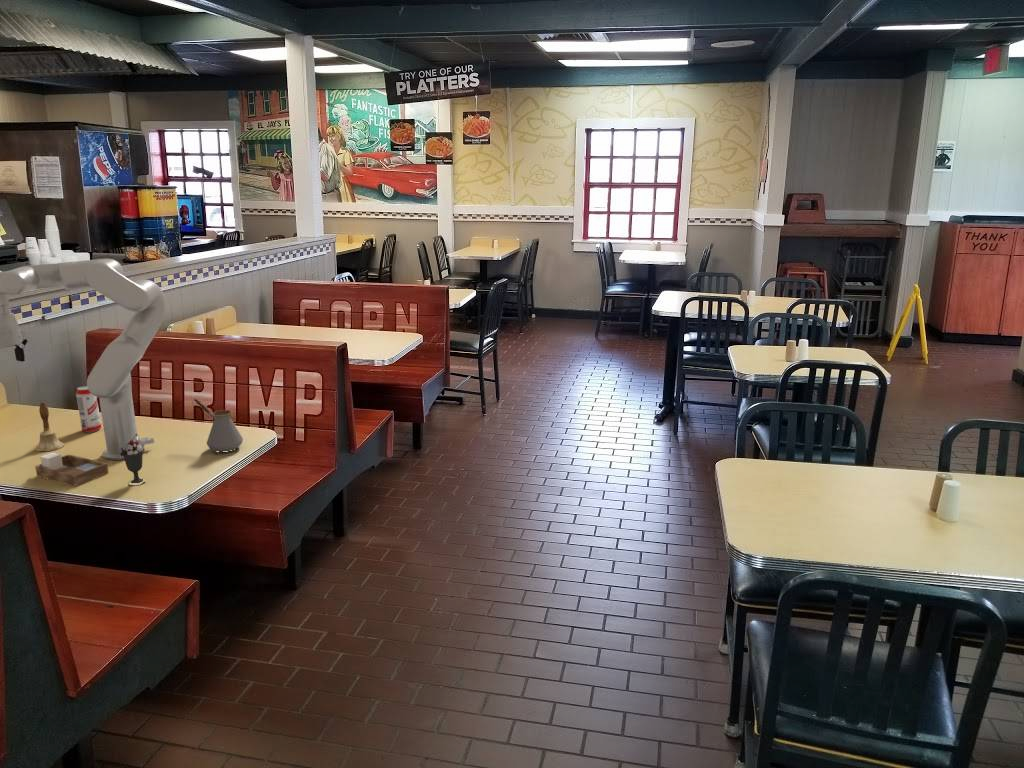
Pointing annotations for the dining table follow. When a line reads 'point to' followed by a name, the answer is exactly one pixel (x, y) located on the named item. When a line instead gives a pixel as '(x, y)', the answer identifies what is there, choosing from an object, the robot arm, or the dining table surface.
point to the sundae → (133, 458)
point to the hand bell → (47, 433)
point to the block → (52, 461)
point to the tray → (73, 470)
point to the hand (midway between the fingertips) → (5, 364)
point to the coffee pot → (222, 431)
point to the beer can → (88, 410)
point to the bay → (86, 467)
